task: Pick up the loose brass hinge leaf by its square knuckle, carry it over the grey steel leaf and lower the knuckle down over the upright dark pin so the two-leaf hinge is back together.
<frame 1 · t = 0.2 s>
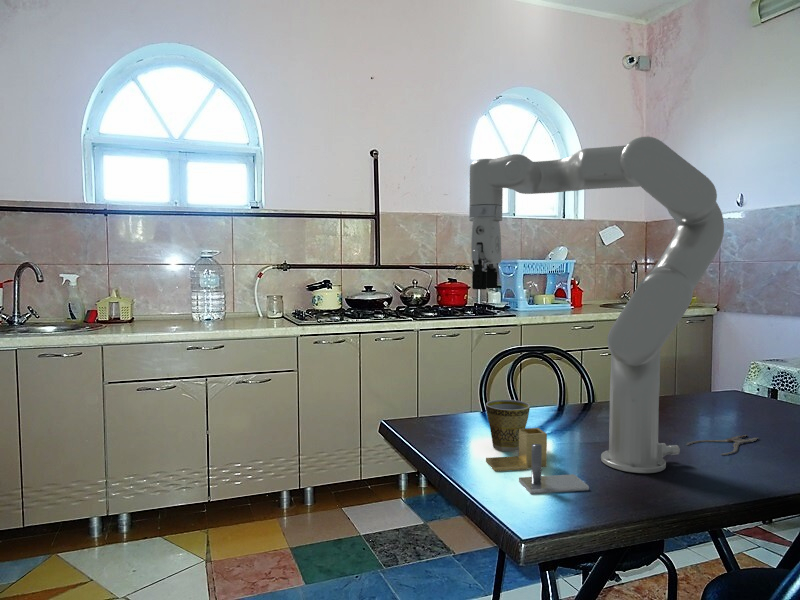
hand: (485, 288, 130), 37 cm above the table, tool pointing down, fingers open, 9 cm apart
steel leaf with pin: (536, 486, 106), on the table
pliers: (721, 445, 132), on the table
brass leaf: (532, 464, 118), on the table
ceramic cup: (507, 446, 131), on the table
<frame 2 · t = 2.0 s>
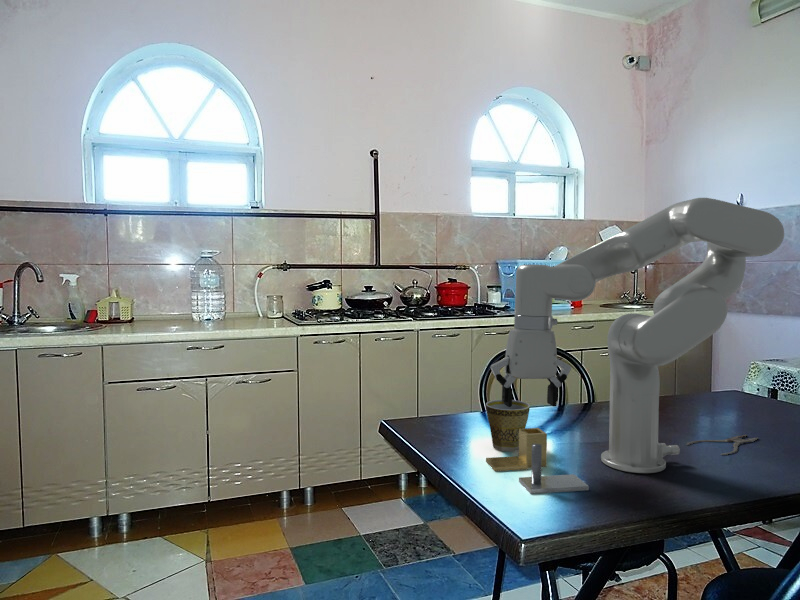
hand: (529, 405, 117), 13 cm above the table, tool pointing down, fingers open, 9 cm apart
nothing on the table moved.
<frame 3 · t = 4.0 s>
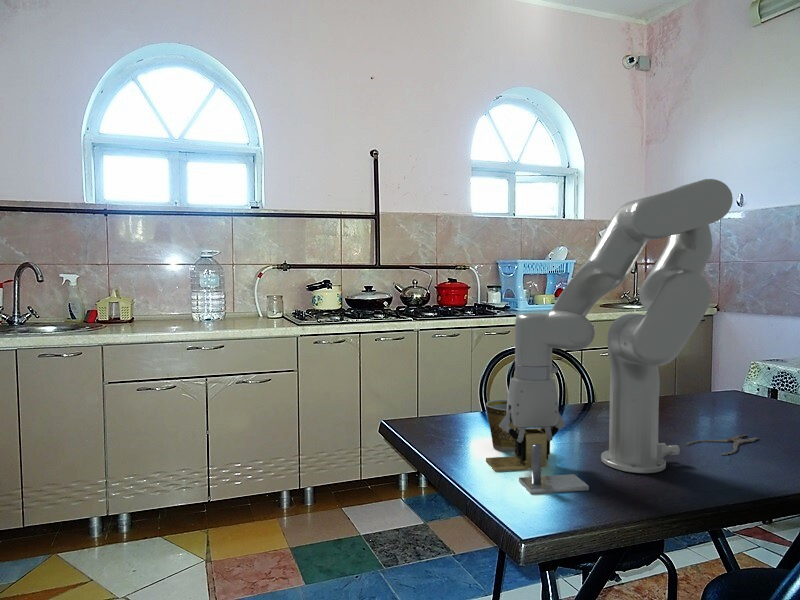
hand: (532, 457, 118), 1 cm above the table, tool pointing down, fingers closed on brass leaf, 4 cm apart
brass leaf: (532, 464, 118), on the table, touching gripper
everything else where it was.
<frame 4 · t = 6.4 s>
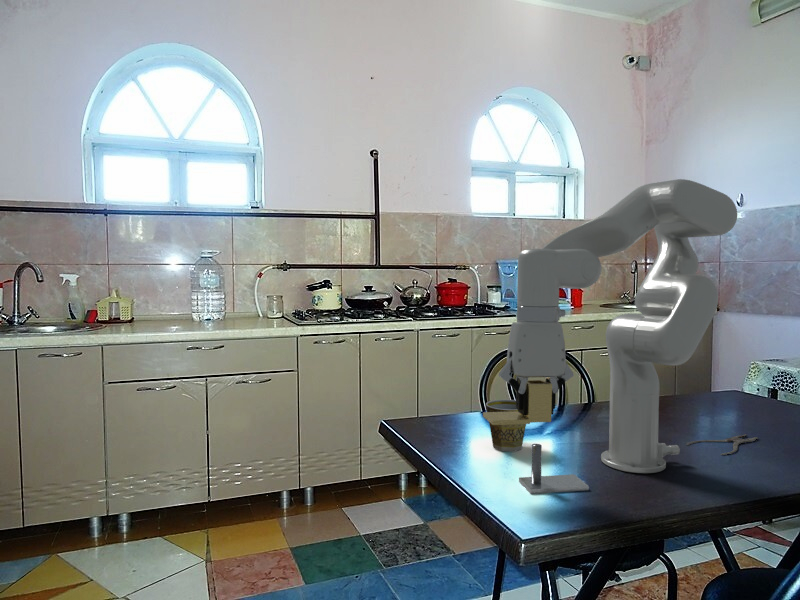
hand: (535, 412, 105), 14 cm above the table, tool pointing down, fingers closed on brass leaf, 4 cm apart
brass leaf: (535, 419, 105), point 13 cm above the table, touching gripper
everything else where it was.
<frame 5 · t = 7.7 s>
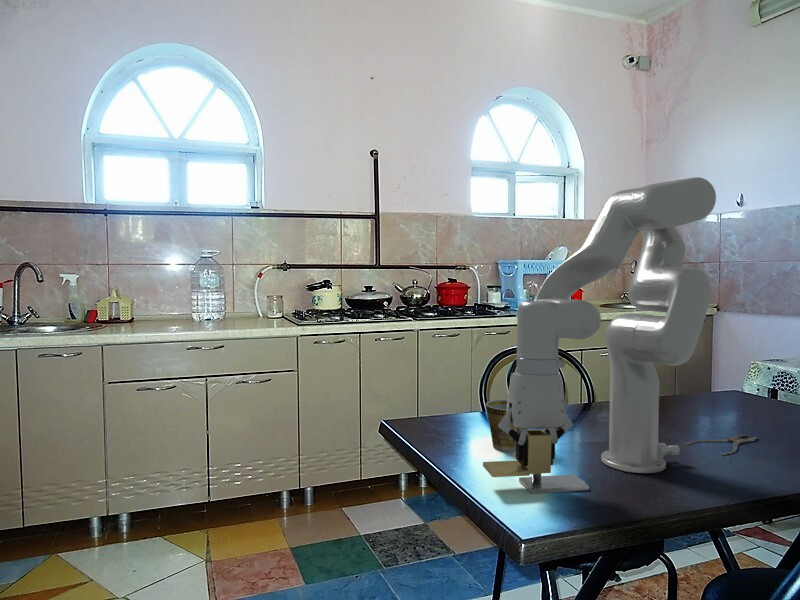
hand: (535, 462, 105), 5 cm above the table, tool pointing down, fingers closed on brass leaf, 4 cm apart
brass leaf: (534, 469, 105), point 3 cm above the table, touching gripper
everything else where it was.
when the fingers open (3 cm above the table, at t = 8.7 s): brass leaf stays where it is, resting on steel leaf with pin.
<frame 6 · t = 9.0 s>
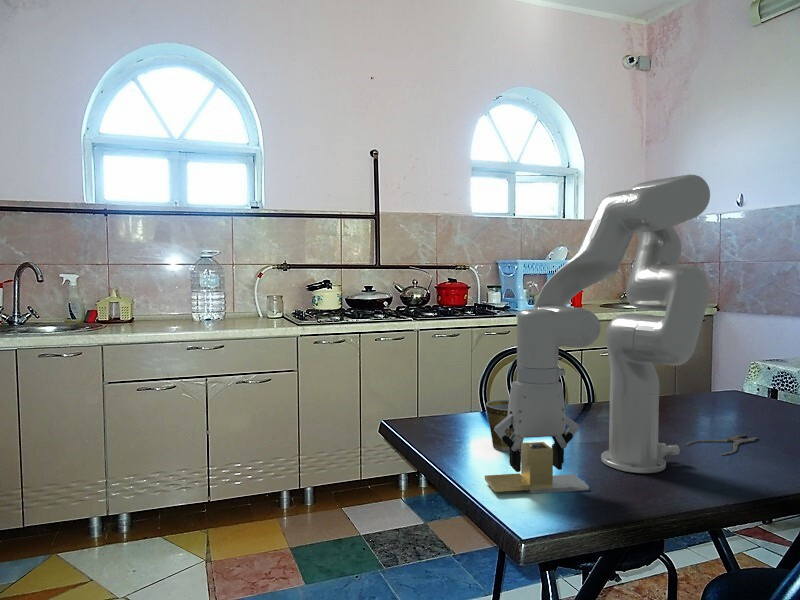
hand: (536, 467, 105), 4 cm above the table, tool pointing down, fingers open, 7 cm apart
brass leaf: (536, 482, 106), point 1 cm above the table, touching steel leaf with pin
everything else where it was.
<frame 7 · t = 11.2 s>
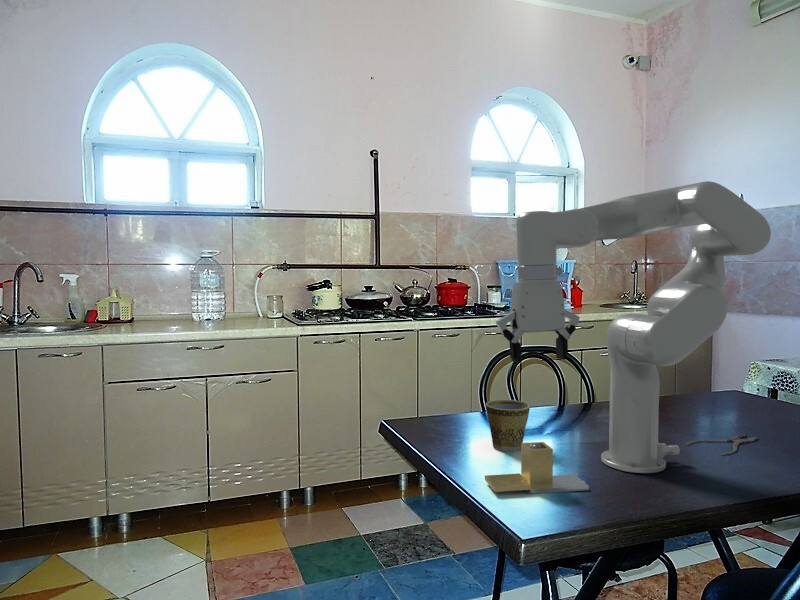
hand: (539, 360, 112), 23 cm above the table, tool pointing down, fingers open, 9 cm apart
nothing on the table moved.
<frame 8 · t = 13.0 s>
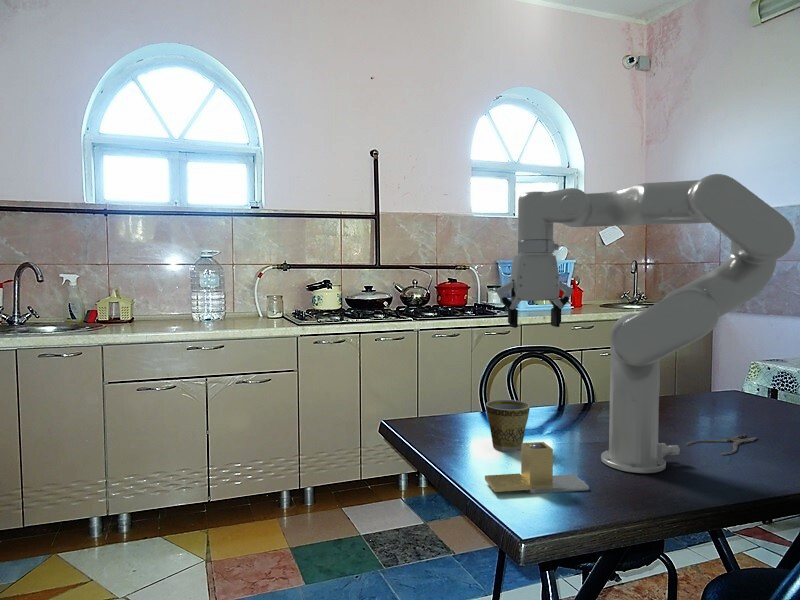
hand: (534, 326, 124), 28 cm above the table, tool pointing down, fingers open, 9 cm apart
nothing on the table moved.
at the end: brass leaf 0.1 cm off-centre on the steel leaf with pin, point 0.8 cm above the steel leaf with pin's base; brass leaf tilted 0°; the gripper is holding nothing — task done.
